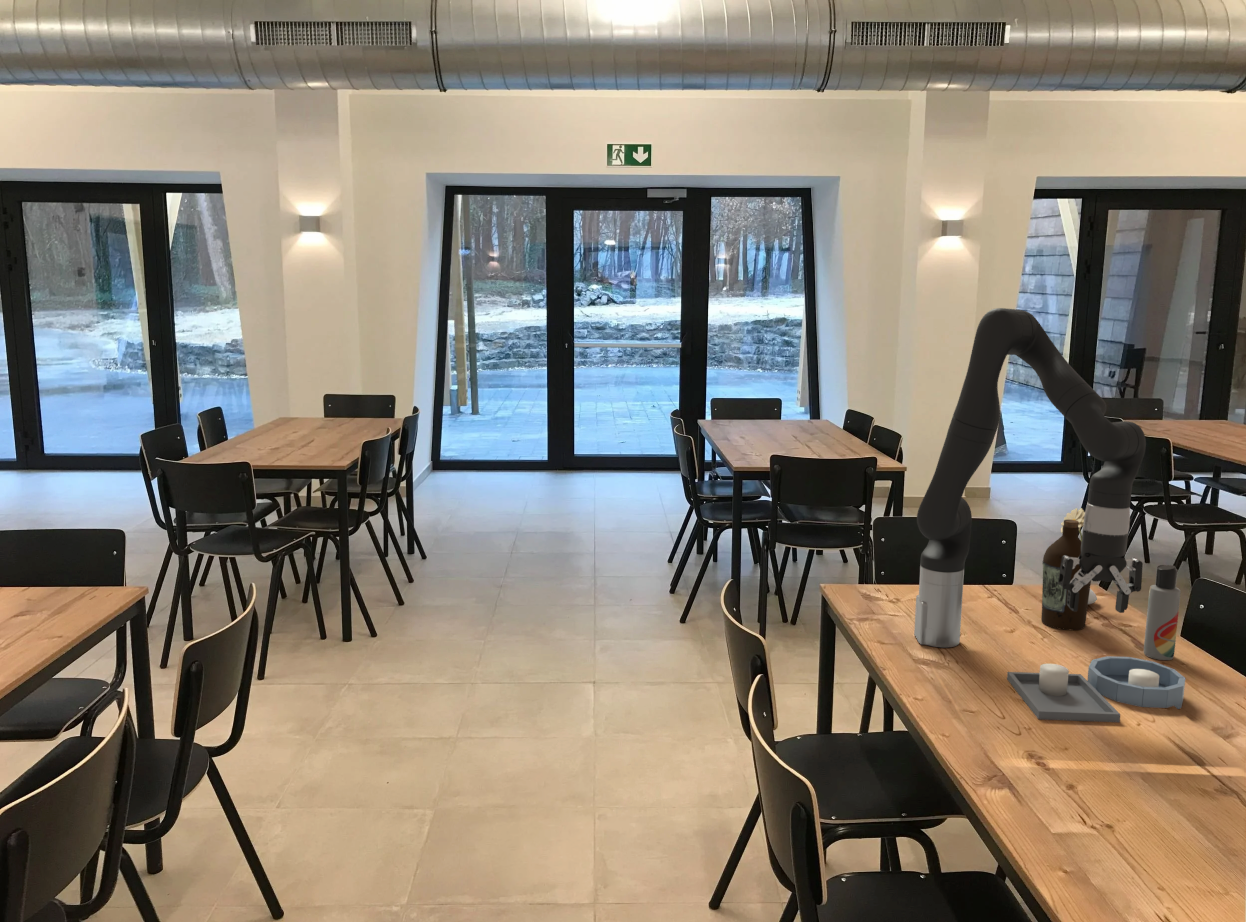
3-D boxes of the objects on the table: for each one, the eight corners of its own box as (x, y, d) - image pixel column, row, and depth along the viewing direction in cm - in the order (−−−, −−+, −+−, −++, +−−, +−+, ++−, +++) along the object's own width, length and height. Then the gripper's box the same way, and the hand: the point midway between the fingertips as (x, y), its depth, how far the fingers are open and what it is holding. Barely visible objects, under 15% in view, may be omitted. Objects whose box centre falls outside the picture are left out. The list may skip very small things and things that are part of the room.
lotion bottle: (1178, 661, 194) (1187, 570, 190) (1148, 659, 195) (1157, 569, 192) (1168, 651, 199) (1177, 562, 196) (1139, 649, 200) (1147, 561, 197)
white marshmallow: (1134, 701, 172) (1136, 678, 172) (1122, 690, 177) (1124, 668, 176) (1162, 702, 172) (1164, 679, 171) (1149, 691, 177) (1151, 669, 176)
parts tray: (1038, 724, 165) (1039, 711, 165) (1006, 683, 183) (1007, 671, 183) (1119, 727, 164) (1120, 714, 164) (1079, 686, 182) (1080, 674, 181)
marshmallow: (1043, 695, 175) (1045, 673, 174) (1034, 684, 180) (1036, 663, 179) (1070, 696, 175) (1072, 674, 174) (1061, 685, 179) (1063, 664, 179)
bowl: (1108, 710, 171) (1110, 687, 170) (1075, 676, 186) (1077, 655, 186) (1199, 713, 169) (1201, 690, 168) (1157, 679, 185) (1160, 657, 184)
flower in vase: (1044, 592, 240) (1052, 499, 236) (1093, 597, 236) (1101, 502, 232) (1049, 608, 228) (1057, 510, 223) (1100, 613, 224) (1109, 513, 220)
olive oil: (1061, 613, 224) (1069, 514, 220) (1098, 627, 214) (1107, 523, 210) (1028, 619, 220) (1035, 518, 216) (1064, 634, 210) (1073, 528, 206)
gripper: (1135, 524, 174) (1125, 605, 177) (1058, 521, 175) (1049, 602, 178) (1155, 534, 167) (1144, 619, 170) (1074, 532, 168) (1065, 616, 171)
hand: (1096, 610), depth 174 cm, fingers open, 8 cm apart
